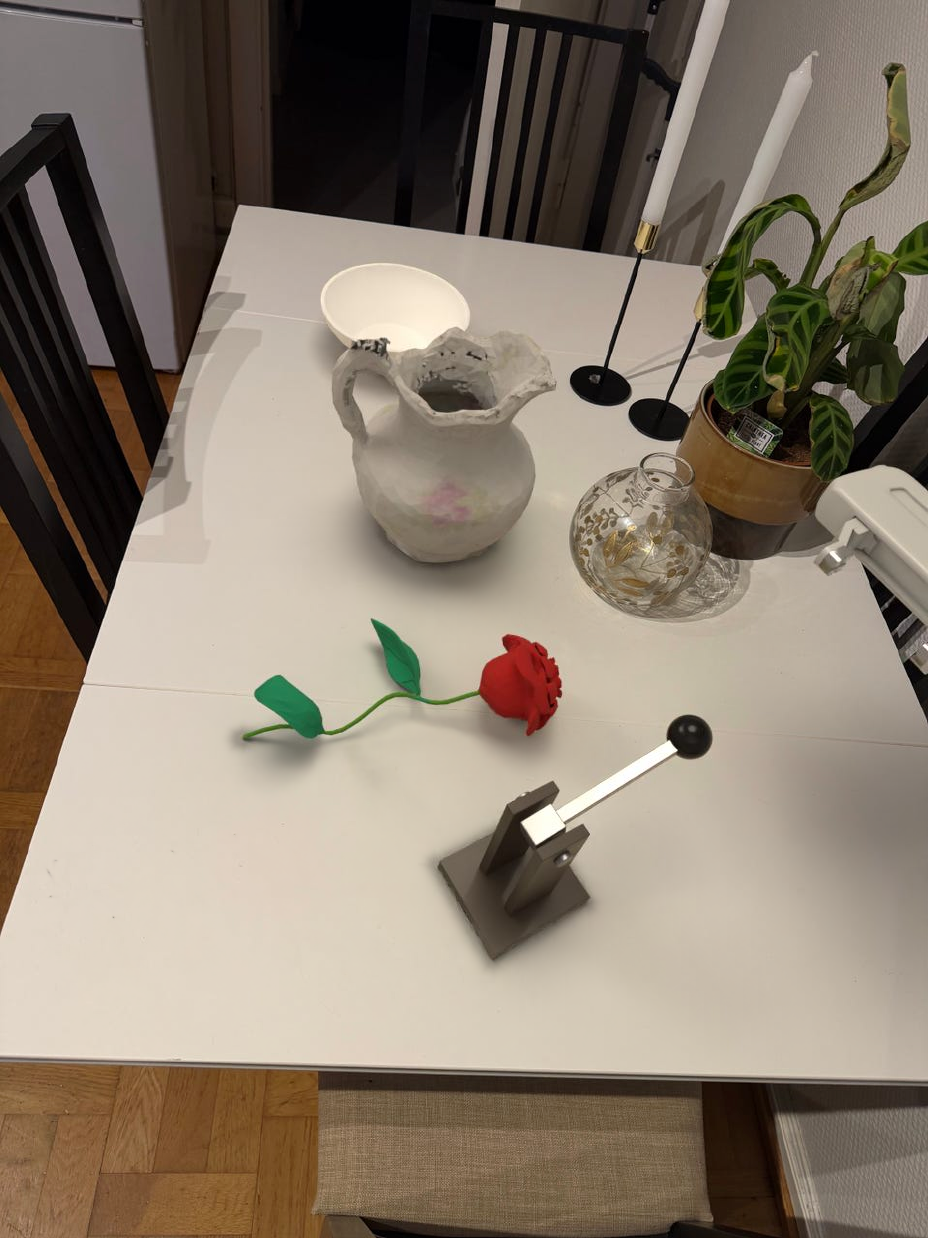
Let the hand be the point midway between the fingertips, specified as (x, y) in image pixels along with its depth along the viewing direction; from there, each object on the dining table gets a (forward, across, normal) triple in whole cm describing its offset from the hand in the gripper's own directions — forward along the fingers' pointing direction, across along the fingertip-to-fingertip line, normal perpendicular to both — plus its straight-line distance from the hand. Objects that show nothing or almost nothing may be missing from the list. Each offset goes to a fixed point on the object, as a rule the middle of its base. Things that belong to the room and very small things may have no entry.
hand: (871, 610), depth 61 cm
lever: (+15, -2, +18) cm, 23 cm away
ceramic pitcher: (+8, -42, +30) cm, 52 cm away
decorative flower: (+22, -23, +30) cm, 44 cm away
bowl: (-4, -72, +30) cm, 78 cm away
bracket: (+22, -2, +30) cm, 37 cm away
